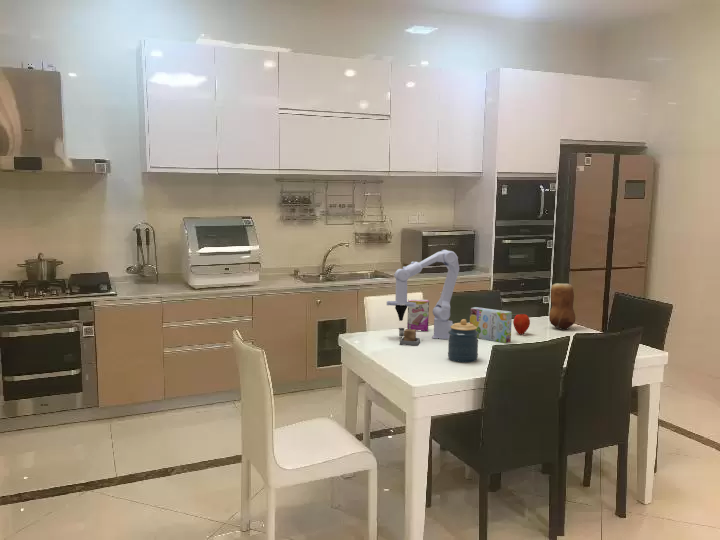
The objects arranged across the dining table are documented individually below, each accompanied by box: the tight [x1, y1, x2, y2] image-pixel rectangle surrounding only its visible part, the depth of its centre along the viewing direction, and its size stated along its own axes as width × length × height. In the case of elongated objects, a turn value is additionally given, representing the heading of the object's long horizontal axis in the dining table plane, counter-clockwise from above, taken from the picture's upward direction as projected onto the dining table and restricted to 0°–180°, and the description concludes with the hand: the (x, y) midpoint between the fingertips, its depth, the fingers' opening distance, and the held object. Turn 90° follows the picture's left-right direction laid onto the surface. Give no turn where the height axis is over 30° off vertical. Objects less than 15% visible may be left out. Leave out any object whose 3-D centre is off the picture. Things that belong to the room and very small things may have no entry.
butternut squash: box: [548, 282, 576, 330], centre depth 331 cm, size 14×13×25 cm
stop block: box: [403, 328, 417, 341], centre depth 295 cm, size 5×4×6 cm
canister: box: [447, 318, 479, 363], centre depth 266 cm, size 13×13×18 cm
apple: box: [512, 313, 531, 335], centre depth 317 cm, size 9×8×11 cm
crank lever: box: [398, 327, 406, 337], centre depth 307 cm, size 8×3×4 cm, turn 74°
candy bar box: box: [406, 298, 430, 332], centre depth 325 cm, size 11×5×16 cm, turn 84°
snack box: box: [469, 306, 513, 344], centre depth 305 cm, size 21×6×15 cm, turn 47°
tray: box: [399, 336, 421, 347], centre depth 295 cm, size 8×8×2 cm
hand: (401, 320), depth 304 cm, fingers closed
